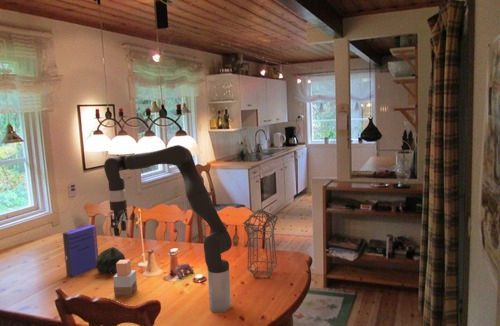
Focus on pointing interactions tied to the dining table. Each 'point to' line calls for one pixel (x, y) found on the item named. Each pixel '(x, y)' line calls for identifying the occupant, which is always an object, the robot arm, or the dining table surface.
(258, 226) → the geometric lantern
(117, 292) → the tower bottom
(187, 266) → the video game controller
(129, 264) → the beige block
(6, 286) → the dining table surface
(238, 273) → the dining table surface
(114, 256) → the squash
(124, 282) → the tower top
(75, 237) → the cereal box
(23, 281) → the dining table surface
